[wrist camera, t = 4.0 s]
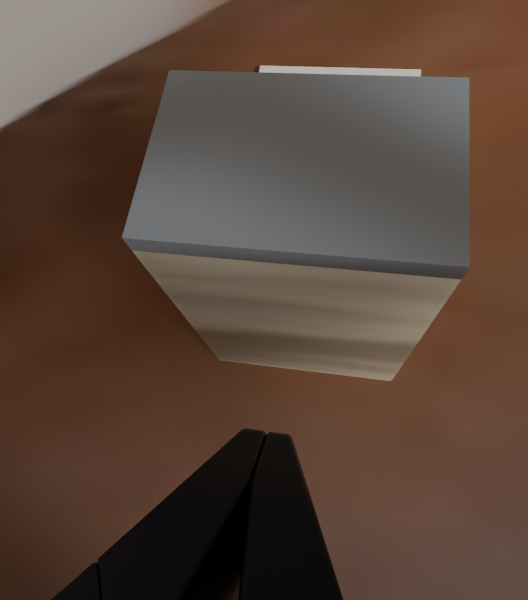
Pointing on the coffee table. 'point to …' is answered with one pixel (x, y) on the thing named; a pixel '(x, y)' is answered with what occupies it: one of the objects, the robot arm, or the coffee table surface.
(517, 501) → the coffee table surface
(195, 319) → the birch block
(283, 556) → the robot arm
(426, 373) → the coffee table surface
